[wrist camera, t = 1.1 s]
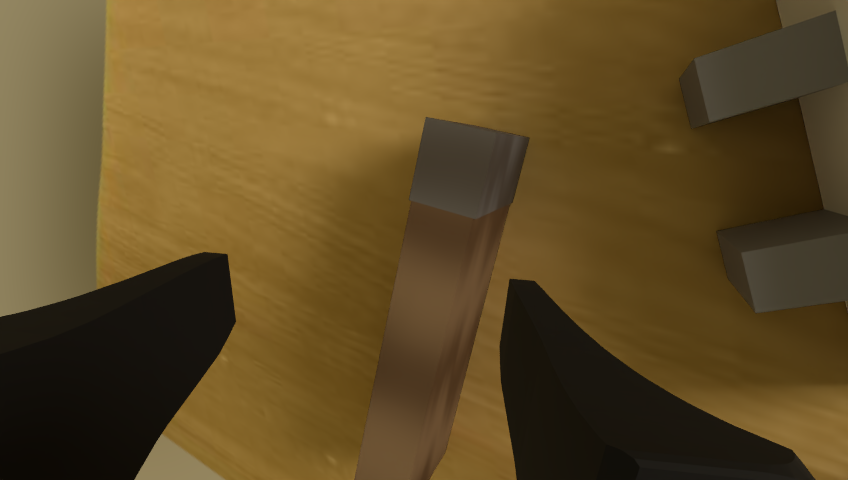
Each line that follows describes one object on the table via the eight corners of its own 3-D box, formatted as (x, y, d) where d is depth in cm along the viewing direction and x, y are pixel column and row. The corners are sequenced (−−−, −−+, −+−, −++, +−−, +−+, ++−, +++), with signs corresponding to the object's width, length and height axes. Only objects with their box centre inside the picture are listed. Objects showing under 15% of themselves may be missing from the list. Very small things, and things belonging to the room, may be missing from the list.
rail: (446, 453, 26) (398, 534, 20) (404, 433, 27) (347, 506, 21) (529, 137, 21) (496, 132, 16) (474, 125, 22) (426, 117, 17)
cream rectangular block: (972, 376, 17) (1181, 512, 10) (756, 393, 20) (819, 510, 13) (861, -140, 16) (1021, -337, 9) (648, -46, 18) (660, -150, 12)
